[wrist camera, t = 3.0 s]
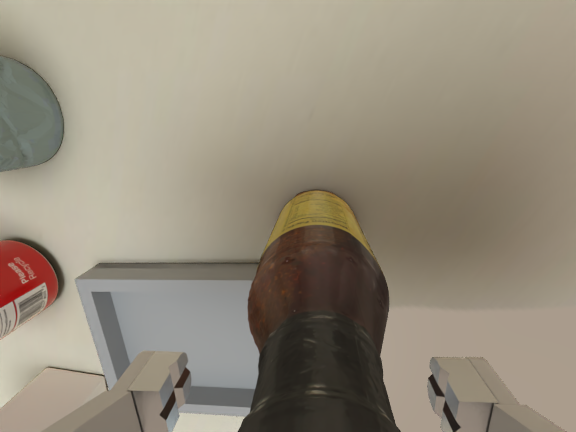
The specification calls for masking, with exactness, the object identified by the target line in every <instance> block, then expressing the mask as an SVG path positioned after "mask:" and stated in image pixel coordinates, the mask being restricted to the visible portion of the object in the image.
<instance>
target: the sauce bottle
mask: <svg viewBox="0 0 576 432" xmlns="http://www.w3.org/2000/svg"><path fill="white" fill-rule="evenodd" d="M247 308H248V322H249V328H250V332H251V334H252V336H253V339H254V342H255V344H256V346H257V348H258V350H259V354H260V355H259V363H258V373H259V374H258V379H257V384H256V388H255V392H254V395H253V401H252V404H251V408H250V413H249V414H248V415H247V416H246V417H245V418H244V419H243V422H242V424H241V427H240V429H239V430H238V432H401V431H400V430H399V429H398V427H397V426H396V424H395V420H394V417H393V413H392V410H391V406H390V402H389V399H388V395H387V391H386V388H385V385H384V382H383V369H382V361H381V358H380V353H381V349H382V343H383V338H384V332H385V327H386V322H387V317H388V312H389V292H388V287H387V283H386V280H385V277H384V275H383V272H382V270H381V268H380V266H379V264H378V262H377V260H376V258H375V256H374V254H373V252H372V250H371V248H370V246H369V244H368V242H367V240H366V238H365V236H364V234H363V232H362V230H361V228H360V226H359V224H358V222H357V220H356V218H355V216H354V214H353V212H352V210H351V209H350V207H349V206H348V205H347V203H346V202H345V201H343V200H342V199H341V198H339V197H337V196H336V195H334V194H333V193H331V192H327V191H321V190H320V191H318V190H315V191H308V192H302V193H299V194H297V195H296V197H295V198H293V199H292V200H291V201H289V202H288V203H287V204H286V205H285V207H284V208H283V210H282V211H281V213H280V216H279V218H278V220H277V222H276V224H275V227H274V229H273V231H272V233H271V236H270V238H269V240H268V243H267V245H266V247H265V249H264V252H263V254H262V256H261V259H260V263H259V265H258V267H257V272H256V276H255V278H254V280H253V282H252V284H251V289H250V291H249V297H248V306H247Z"/></svg>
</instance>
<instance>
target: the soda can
mask: <svg viewBox="0 0 576 432" xmlns="http://www.w3.org/2000/svg"><path fill="white" fill-rule="evenodd" d="M57 293H58V280H57V276H56V273H55V271H54V269H53V267H52V266H51V264H50V263H49V261H48V260H47V259H46V258H45V257H44V256H43V255H42V254H41V253H40V252H38V251H37V250H35V249H34V248H32V247H30V246H29V245H26V244H24V243H21V242H18V241H12V240H2V241H0V340H1V339H2V338H4V337H5V336H7V335H8V334H10V333H11V332H13V331H14V330H16V329H17V328H18V327H20V326H21V325H23V324H24V323H26V322H27V321H29V320H30V319H32V318H33V317H35V316H36V315H38V314H39V313H41V312H42V311H43V310H45V309H46V308H48V307H49V306H50V305H51V304H52V303H53V302H54V300H55V299H56V296H57Z"/></svg>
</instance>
